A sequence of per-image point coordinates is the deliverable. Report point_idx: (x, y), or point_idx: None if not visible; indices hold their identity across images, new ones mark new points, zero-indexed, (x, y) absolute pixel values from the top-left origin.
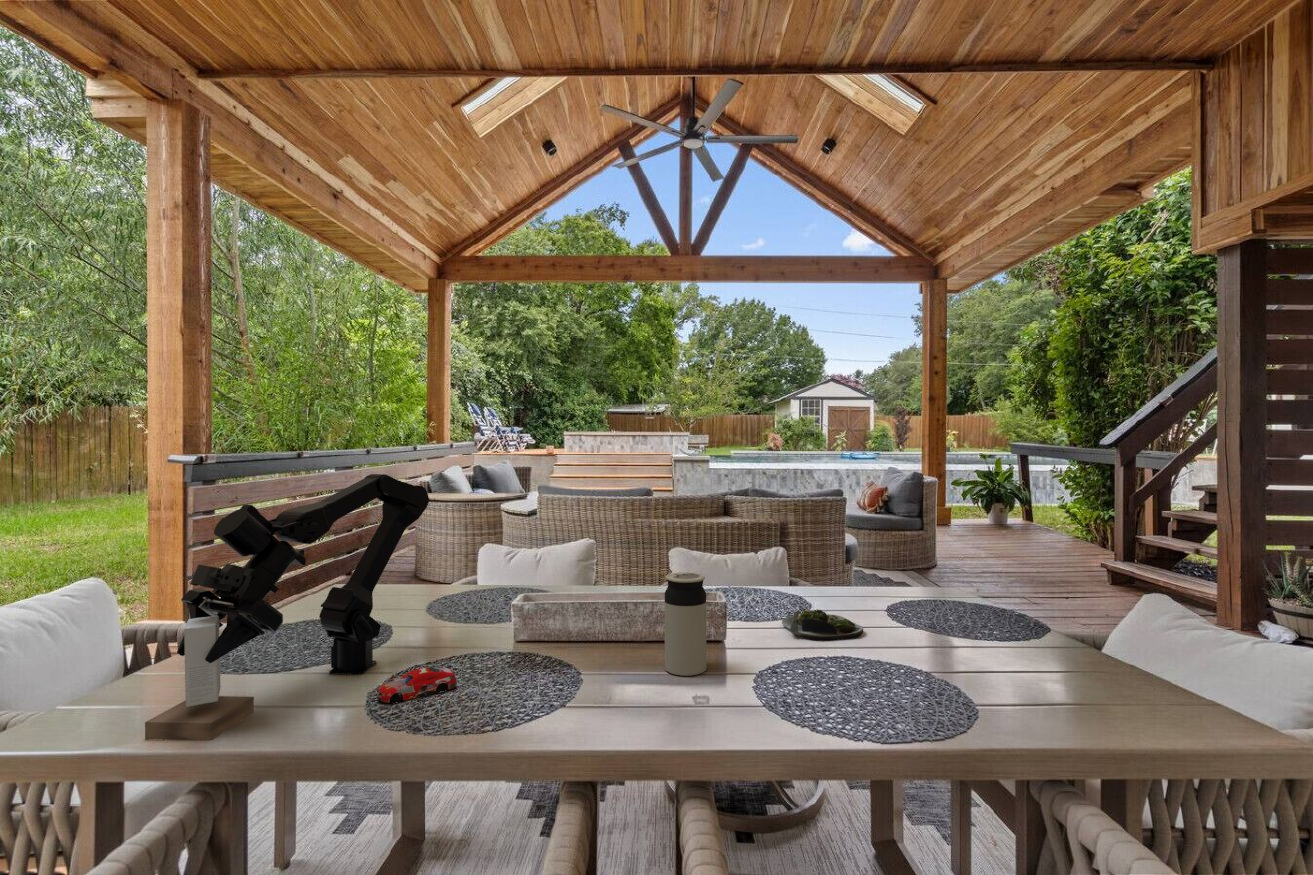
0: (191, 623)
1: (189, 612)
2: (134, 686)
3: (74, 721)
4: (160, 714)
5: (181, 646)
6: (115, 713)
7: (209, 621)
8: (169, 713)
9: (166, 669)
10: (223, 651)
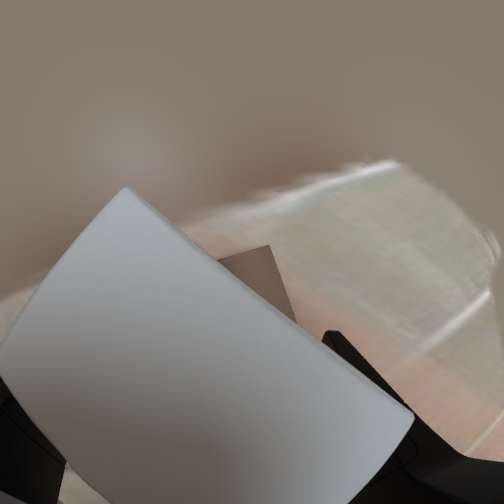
0: (228, 340)
1: (493, 461)
2: (488, 381)
3: (445, 261)
4: (280, 286)
5: (338, 348)
6: (429, 309)
7: (112, 447)
8: (266, 298)
9: (495, 434)
10: None
